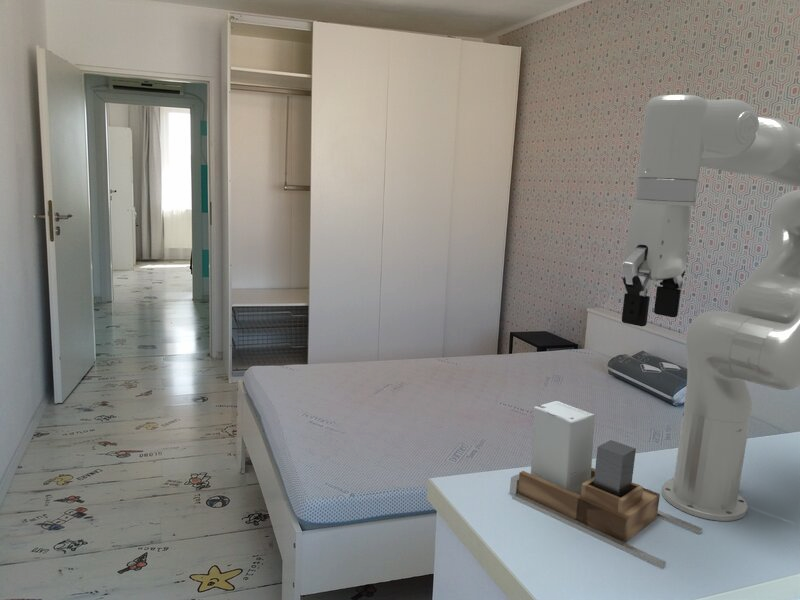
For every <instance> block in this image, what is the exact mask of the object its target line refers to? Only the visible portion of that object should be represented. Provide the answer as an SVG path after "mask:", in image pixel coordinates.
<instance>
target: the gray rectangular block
mask: <svg viewBox="0 0 800 600" xmlns="http://www.w3.org/2000/svg"><path fill="white" fill-rule="evenodd" d="M636 451H637V448H636V447H632V446H630V445H627V444H624V443H621V442H619V441H615V440H612V439H609V440H608V441H606V442H604V443H603V444H600V445H599V446H597V451H596V459H595V468H594V469H595V476H594V485H593V487H596V488H598V489H601V490H603V491H605V492H608V493H610V494H613V495H615V496H618V497H620V498H621V497H623V496H624V495H626V494H627V493H629V492H630V491H631V485H632V483H633V475H634V467H635V460H636V458H635V457H636Z"/></svg>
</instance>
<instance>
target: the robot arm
mask: <svg viewBox="0 0 800 600" xmlns="http://www.w3.org/2000/svg"><path fill="white" fill-rule="evenodd" d="M641 134H642V135H641V142H640V152H639V161H638V168H637V179H636V187H635V196H634V206H633V209H632V212H631V217H630V220H629V222H628V229H627V235H626V239H625V245H624V252H623V258H622V264H621V273H622V274H623V278H622V282H623V285H624V286H623V293H624V294H623V295H624V296H623V305H622V315H621V322H622V323H624V324H628V325H631V326H632V325H633V326H638V327H645V326H647V323H648V316H649V309H650V308H649V306H650V299H651V298H650V295H649V296H648V293H649V290H650V289H651V287H652V285H653V282H657V281H658V282H659V285H657V286H656V293H655V298H654V299H655V300H654V307H653V308H654V310H653V313H654V314H655V315H658V316H662V317H663V316H664V317H669V318H677V317H678V316H679V315H678V314H679V308H680V299H681V294H682V293H681V292H682V288H683V284H684V283H683V282H684V281H683V278H684V276H685V275H686V274H685V273H686V271H685V269H686V266H687V263H688V259H689V257H688V253H689V252H688V251H689V245H690V232H691V230H690V229H691V207H696V205H697V197H698V189H699V182H700V181H699V179H700V173H701V168H705V169H707V168H708V169H713V170H718V171H721V172H722V171H723V172H728V173H733V174H740V175H749V176H754V177H758V178H760V179H765V180H768V181H770V182H771V181H772V182H775V183H778V184H783V185H786V186H791V187H800V127H799V126H796V125H794V124H792V123H789V122H788V121H785V120H782V119H779V118H776V117H767V116H758V114H757V112H756V110H755V109H754V107H752V106H751V104H749V103H748V102H745V101H743V100H740V99H737V98H735V99H734V98H725V99H722V98H721V99H705V98H703V97H702V96H699V95H695V94H693V95H692V94H675V93H674V94H662V95H657V96H655V97H652V98H651V99H649V100H648V102H647V103H646V105H645V109H644V116H643V125H642V133H641ZM769 228H770V229H769V232H770V233H769V248H768V249H769V251H768V254H767V256H765V259H764V260H763V261H762V262H761V263H760V264H759V265H758V266H757V267H756V268H755V270H753V272H752V273H750V275H749V276H748V277H747V278H746V279H745V280H744V281H743V282H742V284H741V285H740V286H739V287H738V288H737V289H736V290H735V292H734V294H733V296H732V298H731V301H730V304H729V306H730V307H729V309H730V311H724V310H710V311H705V312H702V313H701V314H698V315H697V316H695V318H693V319H692V321H691V322H690V323H689V326H688V328H687V330H686V335H685V337H686V338H685V350H686V351H685V353H686V363H687V364H686V365H687V371H686V372H687V373H686V376H687V377H686V388H685V396H684V402H683V404H684V405H683V411H682V417H681V418H682V419H681V426H680V433H679V440H678V441H679V442H678V446H677V456H676V463H675V468H674V469H675V470H674V476H673V478H671V479H668V480H667V481H664V483H663V485H662V488H661V489H662V490H661V493H662V497H663V498H664V499H665V500H666V502H668V503H669V504H670V505H671V506H673V507H674V508H675V509H678V510H680V511H682V512H683V513H686V514H688V515H691V516H695V517H697V518H700V519H701V518H702V519H704V520H710V521H719V522H732V521H737V520H739V519H742V518H743V517H745V516H746V515H747V512H748V502H747V500H745V498H744V497H743V496H741V494H739V491H740V484H741V477H742V471H743V466H744V459H745V452H746V447H747V446H746V445H747V442H748V434H749V428H750V422H751V417H752V416H751V415H752V408H753V405H752V397H751V394H750V390H749V388H748V385H747V384H746V381H747V382H750V383H753V384H757V385H760V386H764V387H768V388H771V389H775V390H781V391H790V390H794V389H796V388H798V387H799V386H800V189H796V190H795V189H794V190H791V191H788V192H785V193H783V194H781V196H779V198H778V199H777V200H776V202H775V204H773V208H772V210H771V216H770V227H769ZM642 282H643V283H642Z"/></svg>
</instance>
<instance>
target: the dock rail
mask: <svg viewBox="0 0 800 600" xmlns="http://www.w3.org/2000/svg"><path fill="white" fill-rule="evenodd" d="M518 484H519V473H517V474H516V475H513V476H511V477H510V483H509V495H512V499H513V500H514V501H517V502H519V503H521V504H523V505H526V506H527V507H530V508H532V509H534V510H536V511H538V512H540V513H542V514H544V515H547V516H549V517H551V518H553V519H555V520H557V521H559V522H561V523H563V524H565V525H568V526H570V527H572V528H574V529H576V530H579V531H581V532H583V533H585V534H587V535H589V536H591V537H593V538H596V539H597V540H599V541H602V542H604V543H605V544H608V545H610V546H613V547H615V549H616V548H617V549H619V550H620V551H624V552H625V553H628V554H630V555H631V556H634V557H636V558H638V559H640V560H642V561H645V562H646V563H648V564H651V565H653V566H655V567H657V568H659V569H661V570H663V569H664V568H665V567H666V565H667V561H665V560H663V559H661V558H658V557H656V556H654V555H652V554H650V553H648V552H646V551H644V550H642V549H640V548H637V547H634V546H633V545H630V544H628V543H626V542H625V543H624V542H622V541H620V540H618V539H615V538H613V537H611V536H609V535H607V534H605V533H602V532H600V531H598V530H596V529H594V528H592V527H589V526H587V525H585V524H583V523H581V522H579V521H576V520H574V519H572V518H570V517H568V516H566V515H563V514H561V513H559V512H557V511H555V510H553V509H550V508H548V507H546V506H544V505H542V504H539V503H537V502H535V501H533V500H531V499H529V498H526V497H524V496H522V495H520V494H518ZM657 519H661V520H664V521H665V522H668V523H670V524H673V525H675V526H677V527H680V528H681V529H684V530H687V531H690V532H692V533H695V534H697V535H702V533H703V529H704V528H702V527H700V526H698V525H695V524H693V523H691V522H688V521H685V520H683V519H681V518H678V517H675V516H673V515H671V514H668V513H666V512H664V511H662V510H659V509H658V513H657Z"/></svg>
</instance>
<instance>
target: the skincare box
mask: <svg viewBox="0 0 800 600" xmlns="http://www.w3.org/2000/svg"><path fill="white" fill-rule="evenodd" d="M532 412H533V414H532V436H531V437H532V438H531V459H530V461H531V462H530V474H532V475H534V476H537V477H539V478H541V479H544V480H546V481H548V482H551V483H553V484H555V485H558V486H560V487H562V488H565V489H567V490H569V491H572V492H574V493H576V494H579V495H581V488H582V484H583V483H584V482H586V481H588V480H590V479H591V468H592V467H593V466H592V462H593V448H594V447H593V446H594V428H595V416H596V415H595V413H591V412H589V411H585V410H583V409H580V408H577V407H574V406H572V405H570V404H566V403H563V402H561V401H559V400H555V401H551V402H547V403H544V404H541V405H537V406H536V405H535V406H534V407H533V411H532Z"/></svg>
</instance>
